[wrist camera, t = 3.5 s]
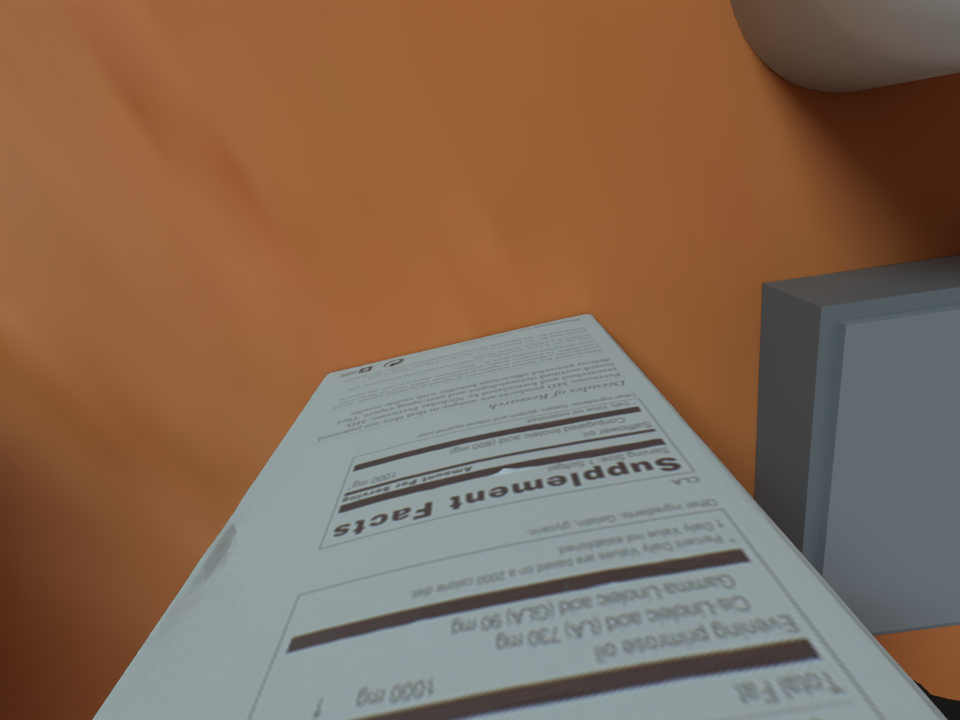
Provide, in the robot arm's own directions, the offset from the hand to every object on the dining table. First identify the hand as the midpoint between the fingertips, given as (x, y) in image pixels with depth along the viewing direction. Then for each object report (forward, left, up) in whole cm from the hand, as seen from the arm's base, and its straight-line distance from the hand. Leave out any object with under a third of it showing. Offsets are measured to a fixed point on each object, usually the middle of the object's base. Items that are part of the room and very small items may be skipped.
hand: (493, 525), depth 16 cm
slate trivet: (+16, -1, -4) cm, 16 cm away
